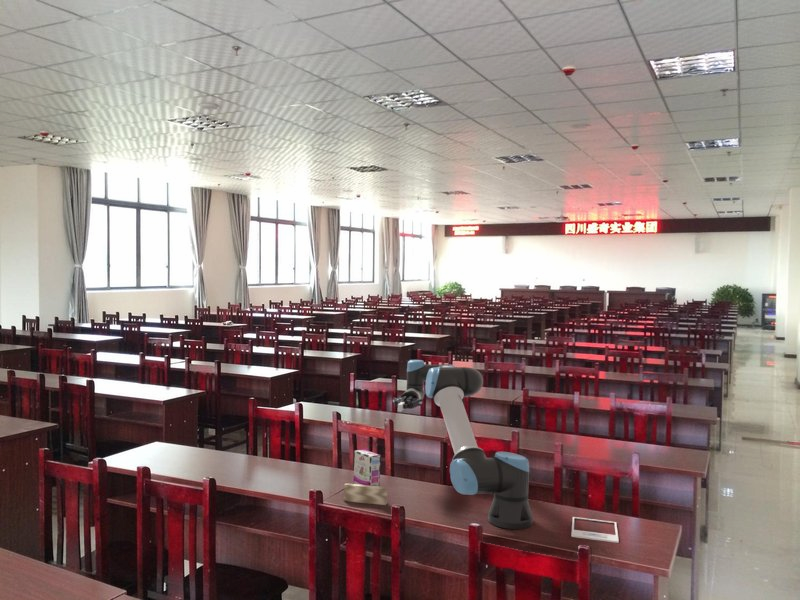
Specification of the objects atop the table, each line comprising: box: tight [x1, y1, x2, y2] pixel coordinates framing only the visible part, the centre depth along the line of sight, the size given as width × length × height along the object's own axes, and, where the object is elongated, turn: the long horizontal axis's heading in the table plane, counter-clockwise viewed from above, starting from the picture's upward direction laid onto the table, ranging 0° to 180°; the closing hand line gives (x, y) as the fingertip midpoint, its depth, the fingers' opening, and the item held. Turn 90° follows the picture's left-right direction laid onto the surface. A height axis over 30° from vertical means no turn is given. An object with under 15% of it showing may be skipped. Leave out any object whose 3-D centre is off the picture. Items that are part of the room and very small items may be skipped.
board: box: [343, 482, 388, 506], centre depth 234 cm, size 16×2×6 cm, turn 78°
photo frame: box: [570, 516, 620, 544], centre depth 213 cm, size 15×1×18 cm
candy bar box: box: [353, 449, 382, 486], centre depth 242 cm, size 11×5×16 cm, turn 38°
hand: (399, 408), depth 251 cm, fingers closed
